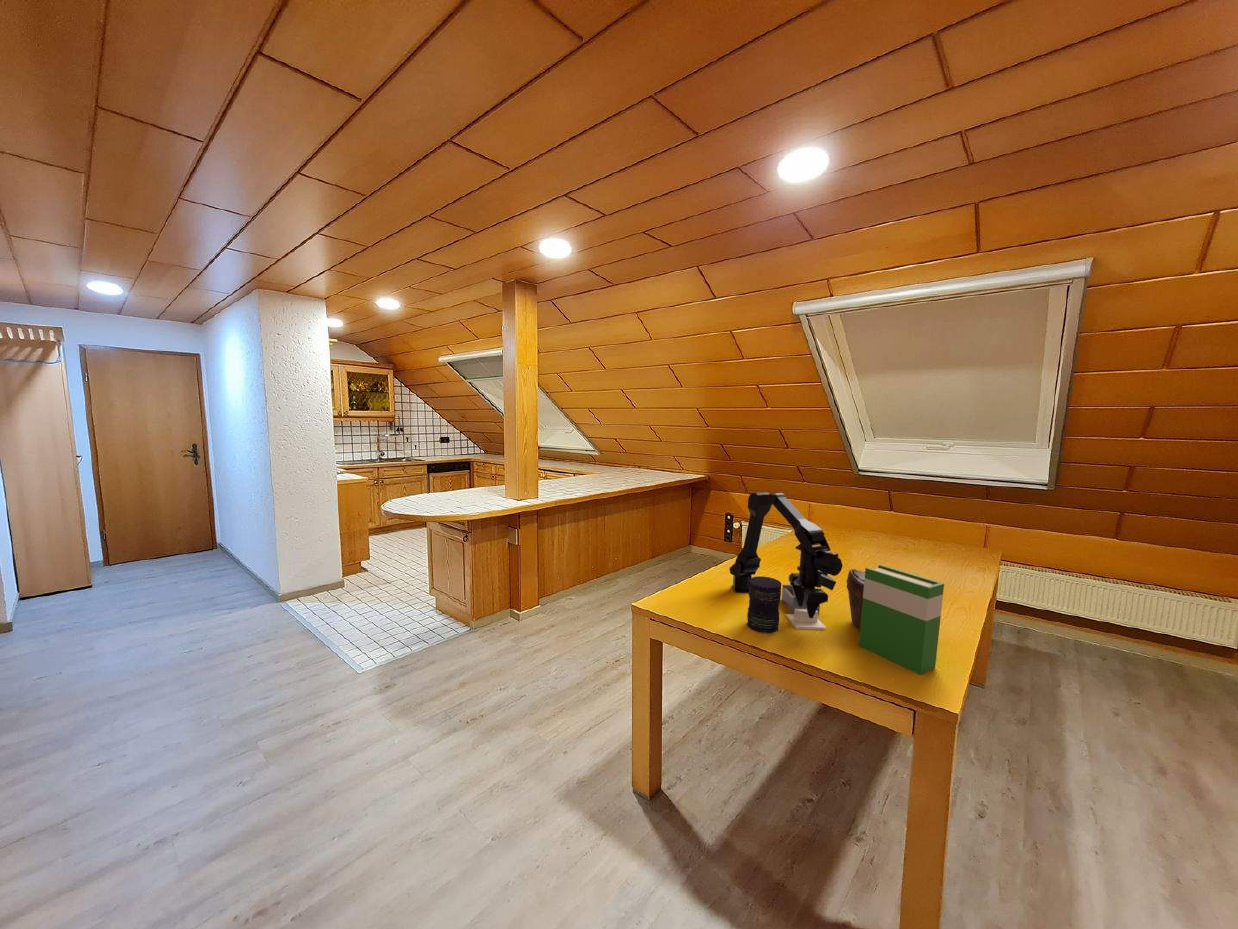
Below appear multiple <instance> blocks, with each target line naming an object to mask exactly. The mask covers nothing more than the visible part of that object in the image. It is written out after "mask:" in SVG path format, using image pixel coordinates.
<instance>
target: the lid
mask: <svg viewBox="0 0 1238 929" xmlns="http://www.w3.org/2000/svg"><path fill="white" fill-rule="evenodd" d="M785 617H786V618H787V619H788V621H789V622H790V623H791V624H792V626H793V627H794V629H795V630H816V631H817V630H821V631H822V630H823V631H826V630H827V627H826V626H825V625H824V623H822V622H821V620H820V619H819V614H818V611H817V610H816V612H815V614H814V617H813V618H809V616H808V612H807V609H794V613H785Z"/></svg>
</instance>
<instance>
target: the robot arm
mask: <svg viewBox="0 0 1238 929" xmlns="http://www.w3.org/2000/svg"><path fill="white" fill-rule="evenodd" d="M747 498H748V499H747V510H748V512H749V520H748V523H747V524H748V525H747V528H746V534H745V538H744V542H743V548H742V549H741V550H740V552H739V553H738V554H737V556H736V559H735V562H734V563H733V564H732V565H731V566H730V567H729V569H728V570H729V573H730V575H732V576H733V578H732V579H733V580H732V584H731V588H732V589H733V592H735V593H748V594H749V585H750V578H752V576H754V575H756V573H757V570H759V568H760V567H761V566H760V564H761V561H762V558H761V557H759V555H758V552H757V551H758V547H759V542H760V537H761V534H762V533H761V532H762V528H763V524H764V519H765V516H767V514H768V513H770V511H771V509H772V506H773V507H774V508H776V510H777V511H778V512H779V514H780V515H781V516H782V517H783V519H784V520H786V522H788V524H789V525H790V526H791V527H792V529H793V532H794V536H795V538H796V539H797V541H798V542H799V544H798V545H797V546H795V549H796V550H798V551H800V554H799V566H797V567H796V569H797V571H798V573H797V572H791V573H790V574H789V575H788V581H789V582H790V583H789V585H791V587H792V589H793V592H794V594H795V597H796V600H797V603H798V605H799V606H801V607H802V605H803V601H805V605H806V609H807V612H808V616H809V618H813V617H814V614H815V612H816V610H817V608H818V606H819V605H820V606H821V604H825V603H828V602H829V595H828V594H827V593H826V592H825V591H824V590H823V589H822V587H824V588H826V589H829V590H830V591H834V588H835V586H836V583H837V581H836V580H835V579H834V578H832V577H831V576H834V577H836V576H838V575H839V574H840V573H841V571H842V569H843V563H842V560H841V558H840V557H839V553H837V552H831V547H830V544H829V543H828V540H827V539H826V536H825V532H824V530H823V529H822V528H821V527H819V526H818V525H817V524H816V523H814V522H811V521H810V520H807V519H806V518H805V516H803V515H802V513H801V512H800V511H799V510H798V509H797V508H796V507H795V506H794V504H792V502H790V500H789V499H788V498H787V495H786V494H785V493H782V492H774V493H769V492H768V491H765V492H764V491H763V492H752V493H751V494H749V496H748V497H747ZM829 575H830V576H829Z"/></svg>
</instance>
